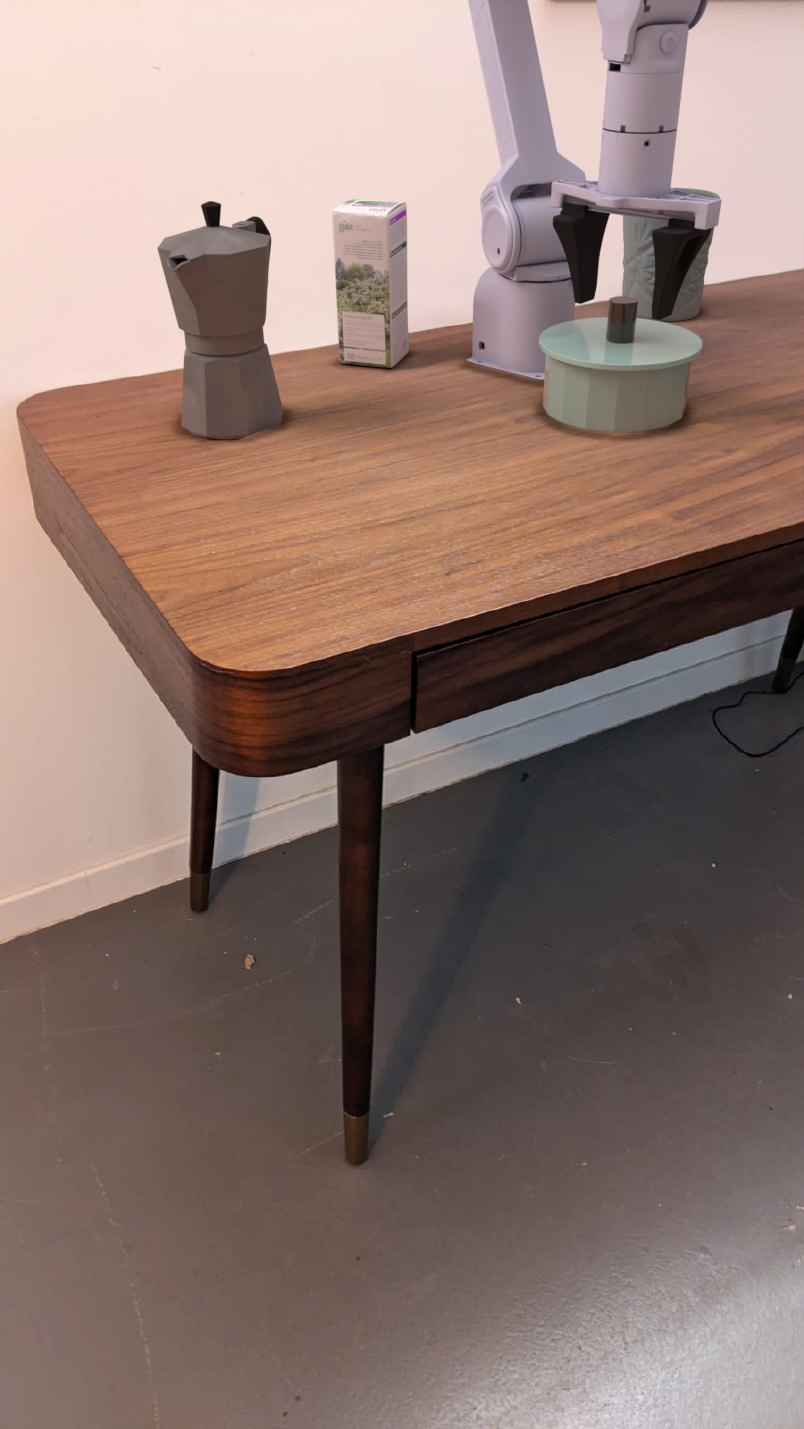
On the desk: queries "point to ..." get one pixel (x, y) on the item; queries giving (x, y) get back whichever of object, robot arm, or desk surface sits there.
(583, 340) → the lid
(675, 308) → the drinking glass
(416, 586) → the desk surface
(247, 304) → the coffeepot
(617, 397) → the pot
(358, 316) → the syrup box
